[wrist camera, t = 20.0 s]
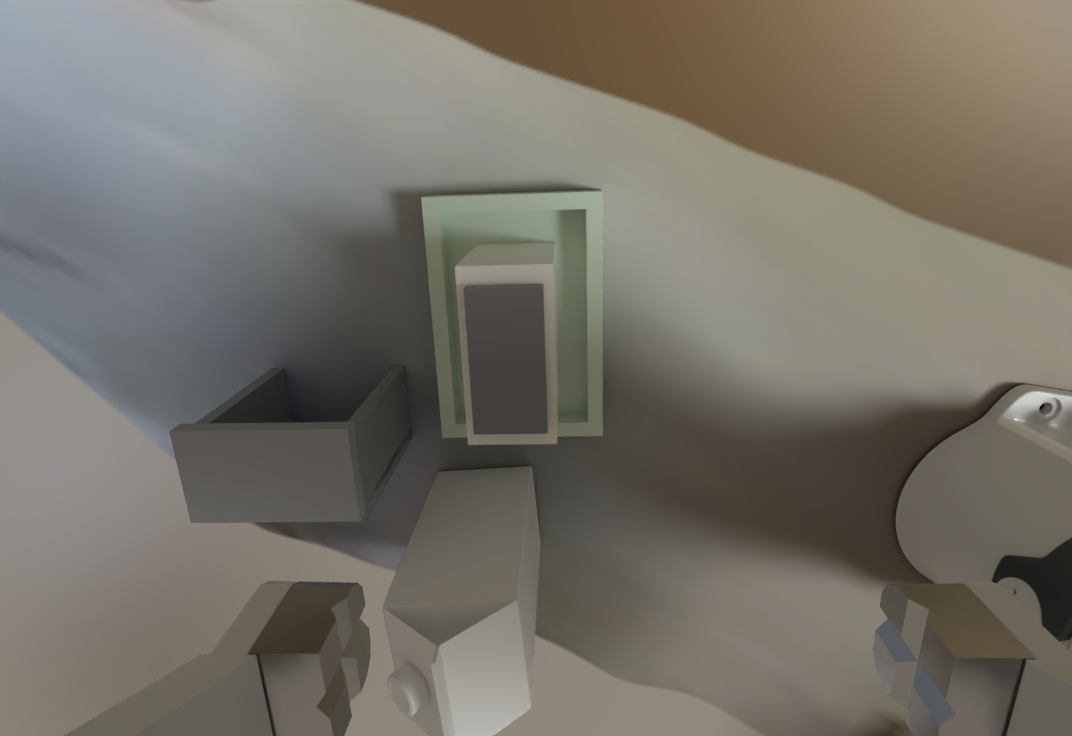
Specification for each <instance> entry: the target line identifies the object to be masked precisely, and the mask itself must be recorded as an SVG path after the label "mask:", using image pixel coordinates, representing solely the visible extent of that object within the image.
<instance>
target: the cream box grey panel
mask: <svg viewBox="0 0 1072 736" xmlns="http://www.w3.org/2000/svg"><path fill="white" fill-rule="evenodd" d="M455 276H456V290H457V303H458V317H459V330H460V344H461V357H462V371H463V384H464V398H465V411H466V424H467V438H468V445H517V444H557V438H558V402H559V372H558V329H557V287H556V244H555V242H533V243H498V244H478V245H477V246H476V247H475V248H473V249H472V250H471V251H470V252H469V253H468V254H467V255H466V256H465V257H464V258H463V259H462V260H461V261H460V262H459V263H458V264H457V265H456V266H455Z"/></svg>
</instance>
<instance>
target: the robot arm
mask: <svg viewBox="0 0 1072 736" xmlns="http://www.w3.org/2000/svg"><path fill="white" fill-rule="evenodd" d="M1044 403H1045V405H1044V407H1043V408H1042V409H1040V410H1039V408H1040V406H1041V405H1042V404H1044ZM896 532H897V537H898V541H899V544H900V547H901V549H902V551H903V553H904V555H905V556H906V558H907V559H908V561H909V562H910V563H911V564H912V566H913V567H914V568H915V569H916V570H917V571H919V572H920V573H921V574H922V575H924V576H925V577H927V578H928V579H930V580H931V581H933V582H934V583H936V584H887V585H886V587H885V588H884V590H883V592H882V596H881V602H880V607H881V609H882V610H883V612H884V613H885V614H886V616H887V617H888V619H887V620H886V621H885V622H884V623H882V624H881V625H880V626H879V627H878V628H877V629H876V631H875V639H874V647H873V650H874V657H875V663H876V669H877V671H878V674H879V677H880V679H881V682H882V684H883V686H884V687H885V689H886V691H887V692H888V694H889V696H890V697H891V698H892V699H894V700H895V701H897V702H898V703H900V704H901V705H903V706H904V707H905V708H907V709H908V715H907V720H906V724H907V725H908V727H909V729H910V730H911V732H912V734H913V735H914V736H1072V392H1070V391H1064V390H1058V389H1052V388H1046V387H1041V386H1035V385H1019V386H1017V387H1014V388H1013V389H1011V390H1010V391H1008V392H1007V393H1006V394H1005V395H1004V396H1003V397H1002V398H1001V399H1000V400H998V402H997V403H996V404H995V405H994V406H993V407H992V408H991V409H990V410H989V411H988V412H987V414H986V415H985V416H984V417H982V418H981V419H980V420H978V421H977V422H975V423H973V424H972V425H970V426H968V427H966V428H964V429H963V430H961V431H959V432H957V433H955V434H954V435H952V436H950V437H949V438H947V439H946V440H944V441H943V442H941V443H940V444H939V445H938V446H936V447H935V448H934V449H933V450H932V451H931V452H929V453H928V454H927V455H926V456H925V457H924V458H923V459H922V461H921V462H920V463H919V464H918V465H917V467H916V468H915V469H914V471H913V472H912V473H911V475H910V477H909V478H908V480H907V482H906V484H905V486H904V488H903V490H902V492H901V495H900V498H899V501H898V506H897V511H896ZM364 607H365V600H364V594H363V588H362V586H360V585H359V584H358V583H343V582H302V581H300V582H288V581H287V582H286V581H284V582H283V581H280V582H279V581H268V582H266V583H264V584H261V585H260V586H259V587H258V589H257V590H256V592H255V593H254V594H253V596H252V597H251V599H250V600H249V601H248V603H247V604H246V605H245V607H244V608H243V610H242V611H241V612H240V614H239V615H238V616H237V618H236V619H235V621H234V622H233V623H232V625H231V626H230V628H229V629H228V630H227V632H226V633H225V634H224V636H223V637H222V639H221V640H220V641H219V643H218V644H217V645H216V647H215V648H214V650H213V651H212V652H211V654H202V655H201V654H200V655H198V656H197V657H195V658H193V659H192V660H190V661H188V662H187V663H185V664H183V665H182V666H180V667H178V668H177V669H175V670H173V671H172V672H170V673H168V674H166V675H165V676H163V677H162V678H160V679H158V680H156V681H155V682H153V683H151V684H150V685H148V686H146V687H145V688H143V689H141V690H140V691H138V692H136V693H135V694H133V695H131V696H130V697H128V698H126V699H124V700H123V701H121V702H119V703H118V704H116V705H114V706H113V707H111V708H109V709H108V710H106V711H104V712H103V713H101V714H99V715H98V716H96V717H94V718H93V719H91V720H89V721H88V722H86V723H84V724H83V725H81V726H79V727H78V728H76V729H74V730H72V731H71V732H69V733H67V734H66V735H64V736H344V735H345V733H346V730H347V727H348V725H349V722H350V719H351V717H352V715H351V708H350V701H351V700H352V699H353V698H354V697H355V696H357V695H358V694H359V693H360V692H361V691H362V688H363V685H364V683H365V680H366V677H367V672H368V667H369V661H370V634H369V628H368V627H367V626H366V625H365V624H364V623H363V621H362V620H361V619H360V616H361V614H362V611H363V609H364Z"/></svg>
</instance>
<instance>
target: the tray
mask: <svg viewBox="0 0 1072 736" xmlns="http://www.w3.org/2000/svg"><path fill="white" fill-rule="evenodd" d="M421 202H422V213H423V225H424V236H425V247H426V259H427V270H428V281H429V293H430V304H431V315H432V327H433V338H434V350H435V361H436V372H437V384H438V395H439V406H440V418H441V429H442V438H467V424H466V411H465V398H464V384H463V371H462V357H461V344H460V330H459V317H458V303H457V290H456V276H455V266H456V265H457V264H458V263H459V262H460V261H461V260H462V259H463V258H464V257H465V256H466V255H467V254H468V253H469V252H470V251H471V250H472V249H473V248H475V247H476V246H477V245H478V244H498V243H533V242H555V244H556V287H557V329H558V372H559V402H558V437H566V436H603V191H602V190H575V191H545V192H514V193H483V194H453V195H428V196H424V197H421Z"/></svg>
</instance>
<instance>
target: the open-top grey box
mask: <svg viewBox="0 0 1072 736" xmlns="http://www.w3.org/2000/svg"><path fill="white" fill-rule="evenodd" d="M170 436H171V440H172V444H173V448H174V452H175V457H176V461H177V465H178V469H179V474H180V478H181V482H182V486H183V491H184V495H185V499H186V503H187V507H188V511H189V516H190V520H191V522H192V523H212V522H213V523H215V522H216V523H219V522H222V523H223V522H224V523H226V522H360V521H361V520H367V518H368V516H369V515H370V513H371V511H372V509H373V507H374V505H375V504H376V502H377V500H378V498H379V496H380V495H381V493H382V491H383V489H384V487H385V486H386V484H387V482H388V480H389V478H390V477H391V475H392V473H393V471H394V469H395V467H396V466H397V464H398V462H399V460H400V458H401V457H402V455H403V453H404V451H405V449H406V448H407V446H408V444H409V442H410V440H411V438H412V434H411V424H410V414H409V405H408V395H407V386H406V376H405V367H404V366H393V367H392V368H391V370H390V371H389V372H388V373H387V374H386V376H385V377H384V378H383V379H382V380H381V382H380V383H379V384H378V385H377V386H376V388H375V389H374V390H373V391H372V392H371V394H370V395H369V396H368V397H367V398H366V400H365V401H364V402H363V403H362V404H361V406H360V407H359V408H358V409H357V410H356V412H355V413H354V414H353V415H352V416H351V418H350V419H349V420H348V421H347V422H292V417H291V411H290V405H289V399H288V393H287V387H286V381H285V375H284V369H283V368H274V369H271V370H270V371H268V372H267V373H265V374H264V375H263V376H261V377H260V378H258V379H257V380H256V381H254V382H253V383H251V384H250V385H249V386H247V387H246V388H244V389H243V390H241V391H240V392H239V393H237V394H236V395H234V396H233V397H232V398H230V399H229V400H227V401H226V402H225V403H223V404H222V405H220V406H219V407H218V408H216V409H215V410H213V411H212V412H211V413H209V414H208V415H206V416H205V417H204V418H202V419H201V420H199V421H198V422H197V423H195V424H180V425H178V426H177V427H175V428H174V429H173V430H171V431H170Z"/></svg>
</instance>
